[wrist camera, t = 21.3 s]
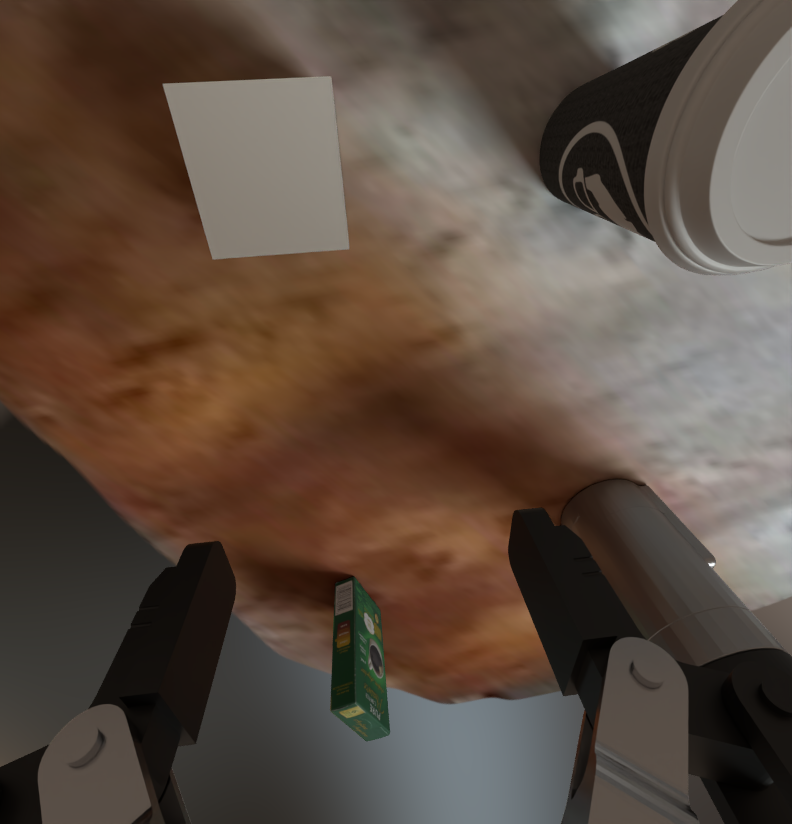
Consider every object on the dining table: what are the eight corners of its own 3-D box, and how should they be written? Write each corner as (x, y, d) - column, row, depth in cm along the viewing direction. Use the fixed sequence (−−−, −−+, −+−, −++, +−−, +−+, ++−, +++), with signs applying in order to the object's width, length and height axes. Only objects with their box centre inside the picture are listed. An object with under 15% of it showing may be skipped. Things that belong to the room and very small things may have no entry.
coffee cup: (654, 208, 28) (913, 251, 15) (520, 244, 28) (665, 317, 15) (676, 23, 22) (1099, -144, 10) (510, 71, 23) (717, -33, 10)
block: (333, 98, 22) (331, 76, 16) (347, 226, 26) (349, 249, 20) (214, 104, 22) (162, 83, 16) (244, 233, 26) (212, 259, 19)
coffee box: (331, 581, 46) (328, 715, 35) (354, 573, 46) (358, 706, 35) (360, 615, 50) (365, 744, 39) (381, 608, 50) (392, 736, 39)
